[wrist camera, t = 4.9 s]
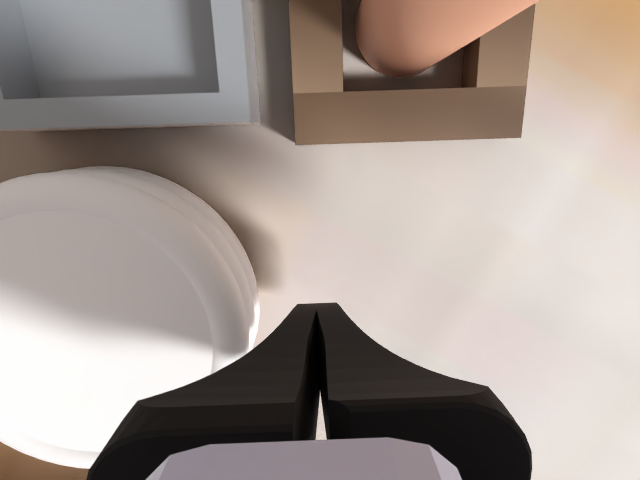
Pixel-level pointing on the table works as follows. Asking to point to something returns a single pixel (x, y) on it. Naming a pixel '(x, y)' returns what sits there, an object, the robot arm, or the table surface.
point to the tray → (126, 64)
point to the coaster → (110, 303)
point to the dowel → (424, 30)
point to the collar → (405, 105)
